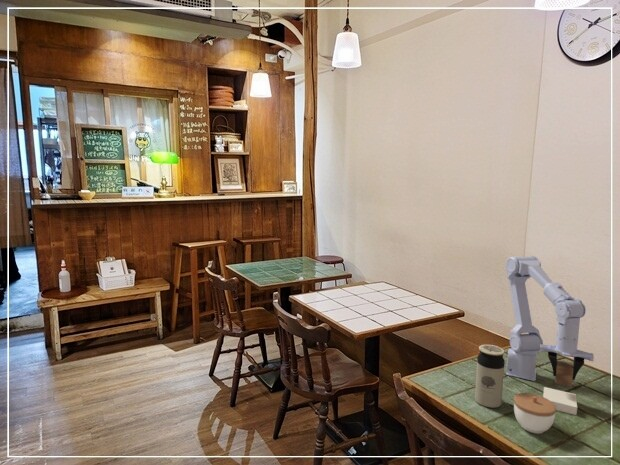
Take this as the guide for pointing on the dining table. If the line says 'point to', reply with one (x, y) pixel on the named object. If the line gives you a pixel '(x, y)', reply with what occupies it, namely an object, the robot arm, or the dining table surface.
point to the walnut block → (564, 373)
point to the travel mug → (489, 376)
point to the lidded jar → (534, 412)
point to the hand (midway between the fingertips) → (563, 376)
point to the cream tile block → (561, 400)
